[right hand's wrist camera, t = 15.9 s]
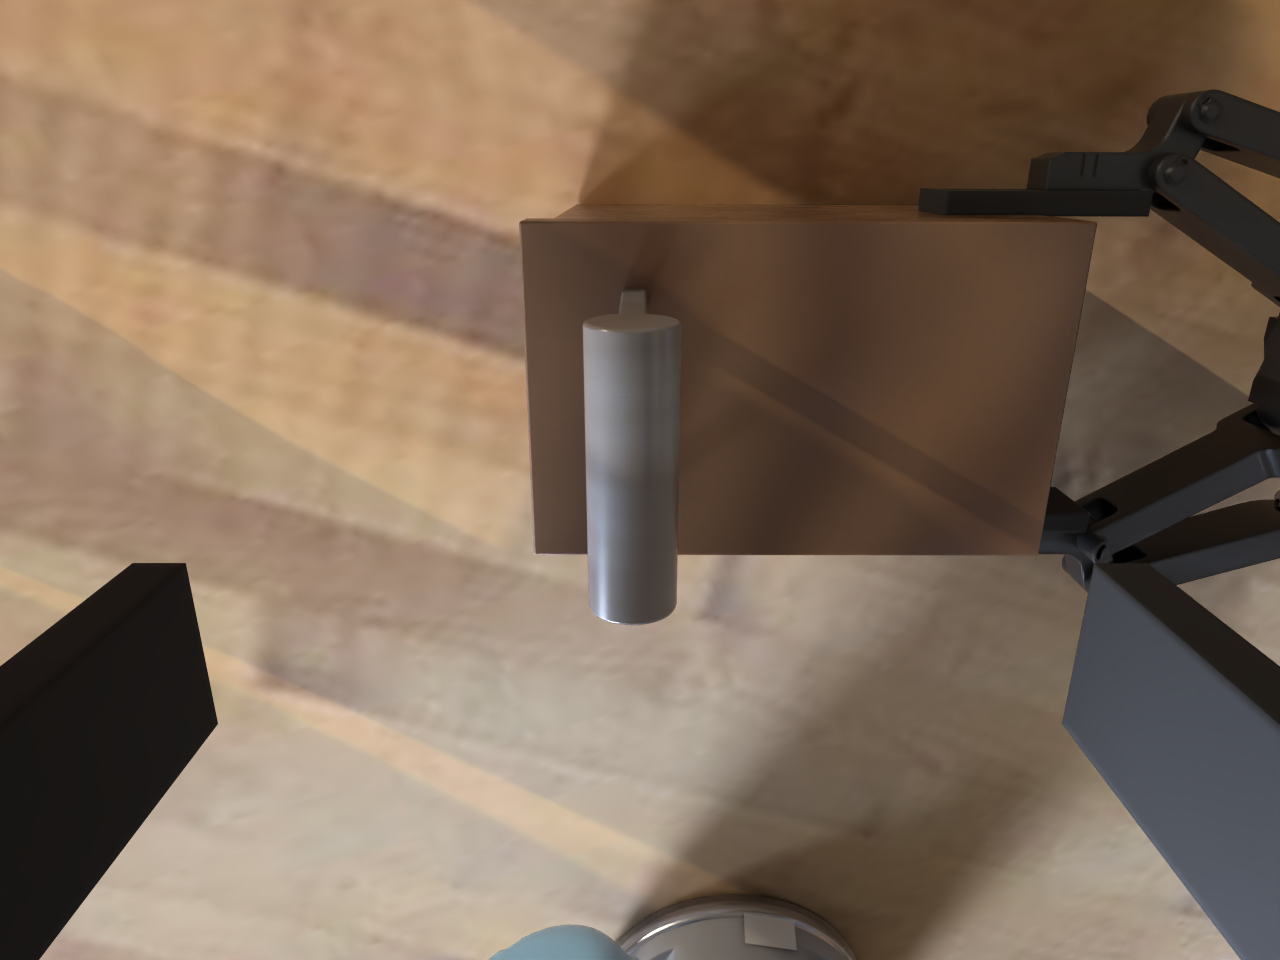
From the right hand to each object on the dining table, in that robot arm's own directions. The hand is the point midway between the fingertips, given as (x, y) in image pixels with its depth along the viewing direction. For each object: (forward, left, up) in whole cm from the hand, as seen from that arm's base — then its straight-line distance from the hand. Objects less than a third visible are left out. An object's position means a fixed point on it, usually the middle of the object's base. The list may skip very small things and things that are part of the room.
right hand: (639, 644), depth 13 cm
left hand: (+5, -8, -19) cm, 21 cm away
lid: (+3, -4, -15) cm, 16 cm away
